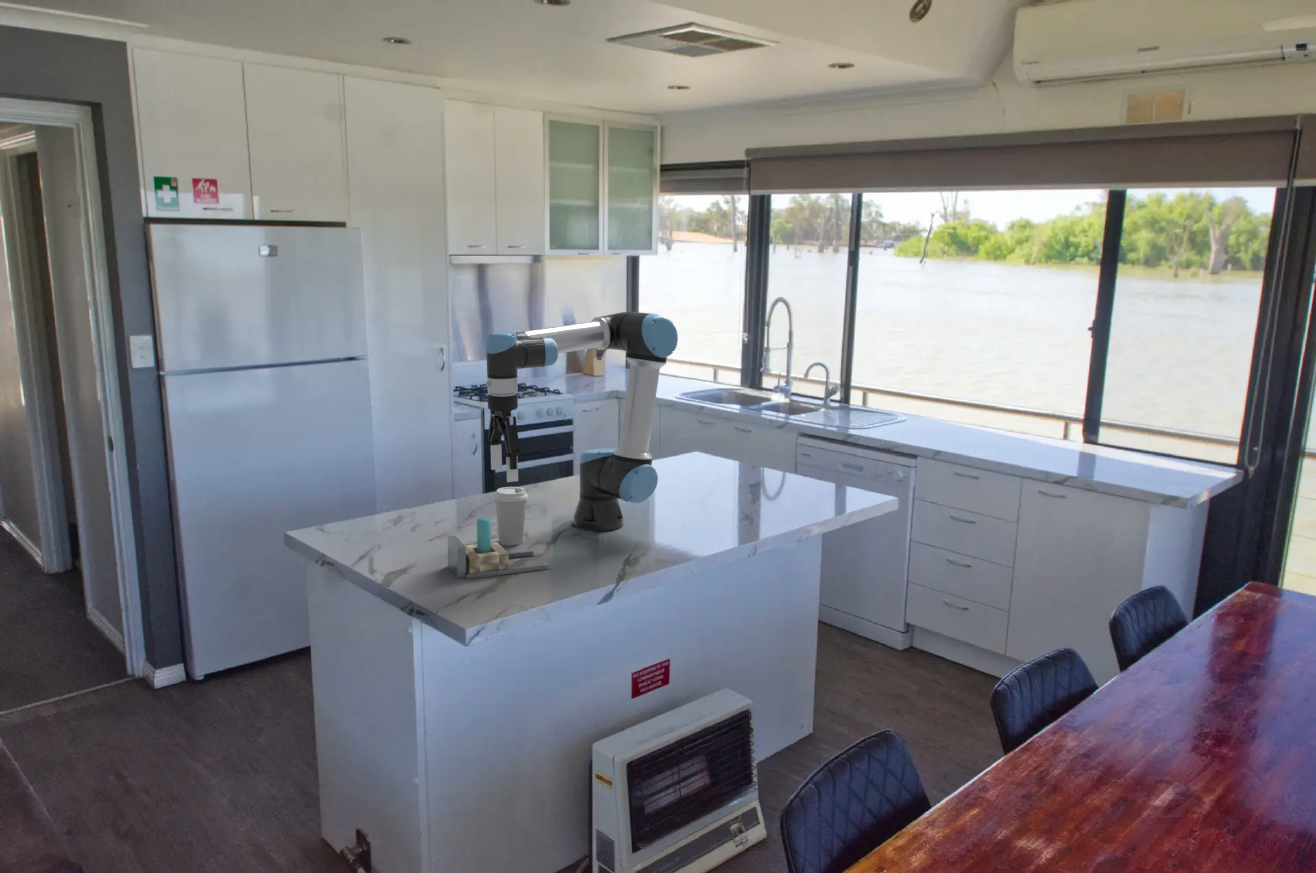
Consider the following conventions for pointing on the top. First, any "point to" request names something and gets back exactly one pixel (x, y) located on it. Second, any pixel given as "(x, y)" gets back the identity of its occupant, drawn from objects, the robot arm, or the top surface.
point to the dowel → (483, 535)
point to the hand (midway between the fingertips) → (504, 475)
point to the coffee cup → (510, 514)
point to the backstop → (459, 569)
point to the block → (486, 559)
